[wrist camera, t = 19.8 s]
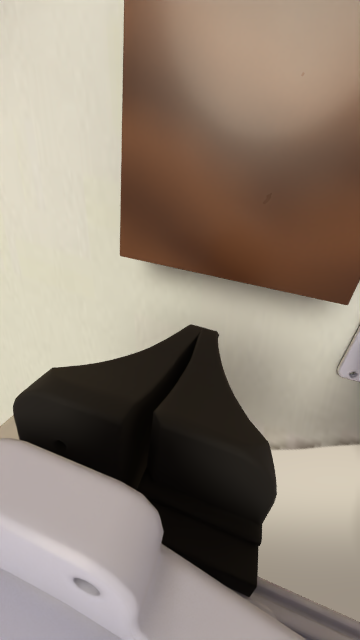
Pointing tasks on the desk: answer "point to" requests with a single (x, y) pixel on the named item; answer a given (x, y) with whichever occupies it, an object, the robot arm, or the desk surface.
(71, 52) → the desk surface
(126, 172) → the lid
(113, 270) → the desk surface
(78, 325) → the desk surface
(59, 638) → the robot arm
